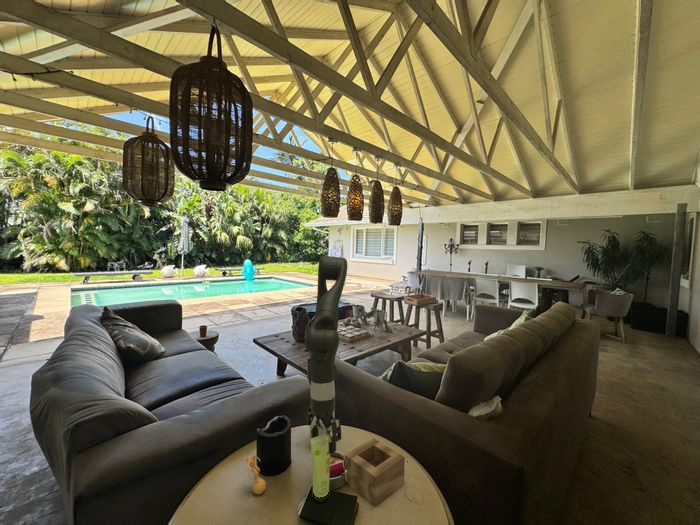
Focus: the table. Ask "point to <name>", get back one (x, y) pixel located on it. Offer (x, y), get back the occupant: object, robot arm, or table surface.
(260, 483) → the figurine
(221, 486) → the table surface
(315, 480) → the tube
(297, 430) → the table surface
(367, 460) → the box
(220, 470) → the table surface
